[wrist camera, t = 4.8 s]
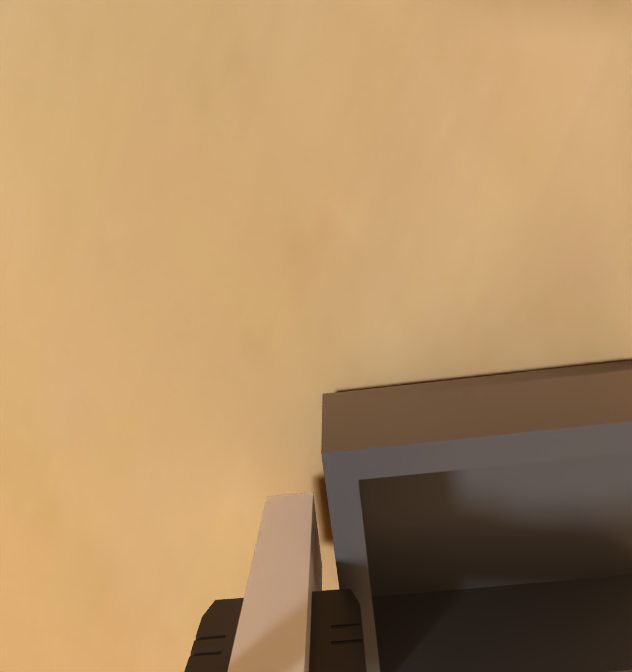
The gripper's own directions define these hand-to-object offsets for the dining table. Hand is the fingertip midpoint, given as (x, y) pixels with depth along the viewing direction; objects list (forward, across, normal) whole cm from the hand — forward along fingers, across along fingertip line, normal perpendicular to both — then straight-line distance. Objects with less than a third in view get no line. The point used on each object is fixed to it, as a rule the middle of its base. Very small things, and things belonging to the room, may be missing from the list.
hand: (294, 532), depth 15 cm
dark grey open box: (+2, +6, 0) cm, 7 cm away
